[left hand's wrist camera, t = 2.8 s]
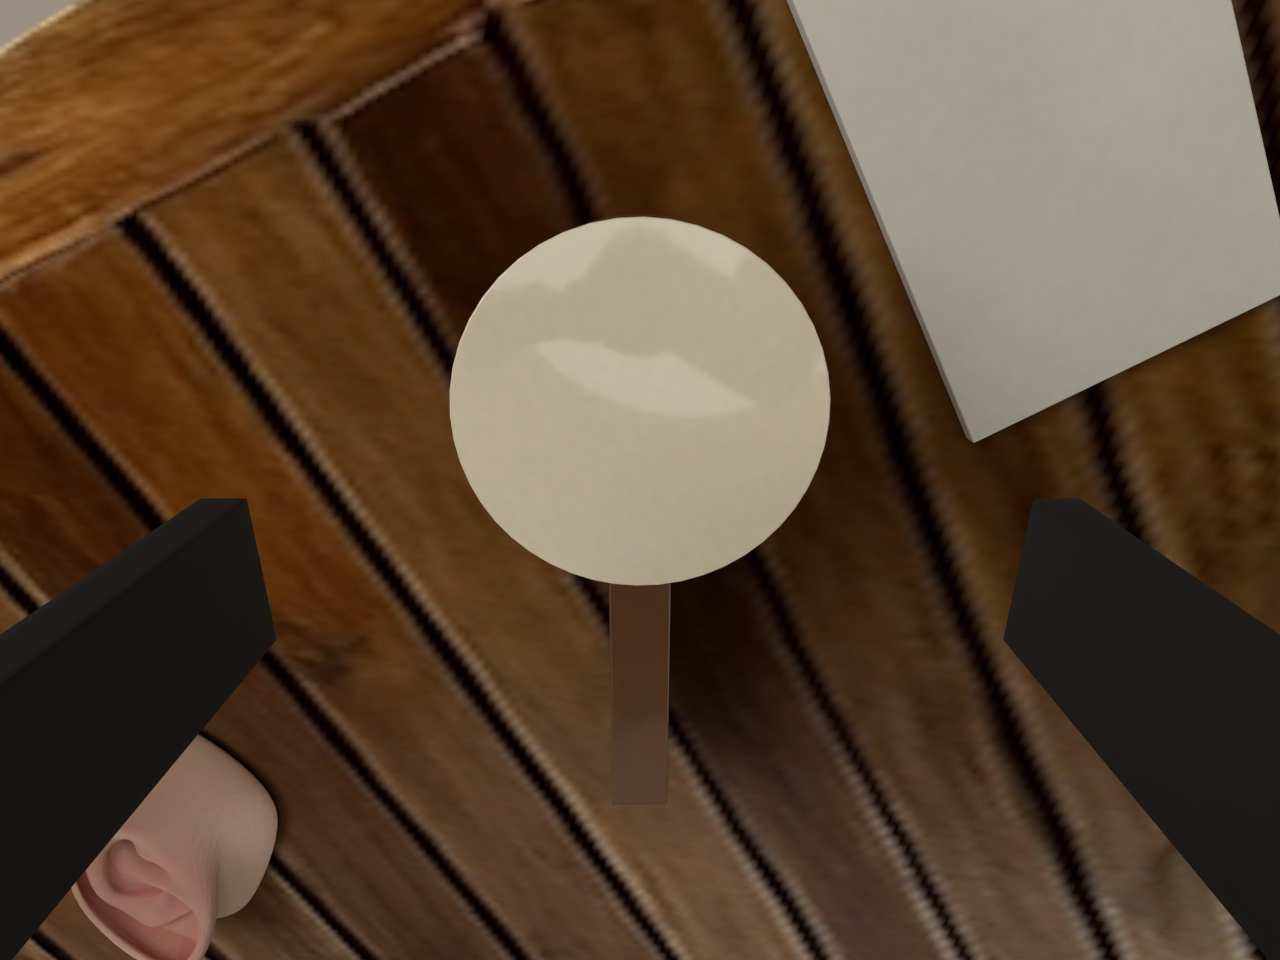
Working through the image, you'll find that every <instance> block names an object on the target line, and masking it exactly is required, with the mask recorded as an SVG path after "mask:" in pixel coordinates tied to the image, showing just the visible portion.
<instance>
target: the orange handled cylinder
mask: <svg viewBox="0 0 1280 960" xmlns="http://www.w3.org/2000/svg"><path fill="white" fill-rule="evenodd" d="M670 612H671V583H667V584H660V585H638V586H636V585H622V584H612V583H609V613H610V670H611V728H612V785H613V804H667V784H668V727H669V670H670Z"/></svg>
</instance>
